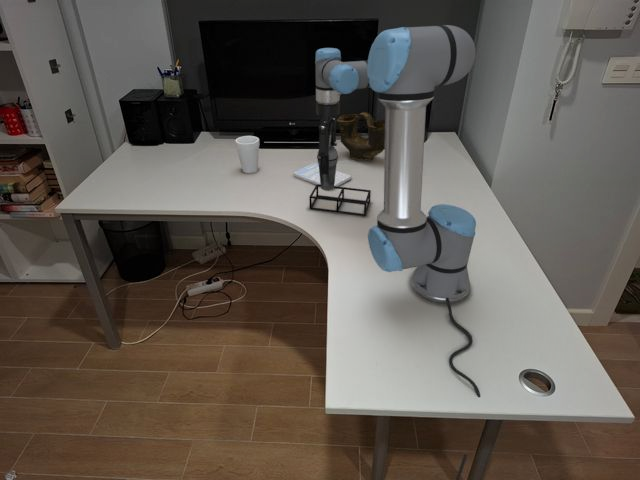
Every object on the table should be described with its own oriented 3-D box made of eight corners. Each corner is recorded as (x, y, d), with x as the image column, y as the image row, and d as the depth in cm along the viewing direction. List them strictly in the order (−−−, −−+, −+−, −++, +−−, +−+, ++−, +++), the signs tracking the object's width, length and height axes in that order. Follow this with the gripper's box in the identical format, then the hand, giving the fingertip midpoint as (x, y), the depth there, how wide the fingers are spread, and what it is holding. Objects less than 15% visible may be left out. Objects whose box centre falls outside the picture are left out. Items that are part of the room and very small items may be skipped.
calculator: (330, 190, 169) (330, 186, 168) (292, 176, 180) (292, 171, 178) (351, 179, 177) (352, 175, 176) (314, 165, 188) (314, 161, 187)
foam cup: (263, 172, 182) (261, 142, 175) (241, 176, 180) (238, 145, 172) (257, 163, 190) (255, 134, 183) (236, 167, 187) (233, 137, 180)
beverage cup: (313, 185, 157) (313, 130, 146) (332, 181, 160) (332, 127, 149) (322, 193, 152) (322, 137, 141) (341, 189, 154) (342, 134, 143)
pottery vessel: (392, 160, 193) (397, 115, 182) (380, 168, 185) (384, 122, 174) (345, 147, 205) (346, 104, 194) (331, 155, 198) (332, 110, 187)
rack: (365, 216, 153) (366, 203, 150) (309, 209, 157) (309, 196, 154) (370, 202, 161) (370, 190, 158) (316, 196, 165) (316, 184, 162)
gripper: (332, 111, 130) (331, 182, 143) (345, 94, 147) (344, 158, 159) (307, 110, 132) (309, 180, 145) (324, 92, 148) (324, 156, 161)
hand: (327, 168), depth 152 cm, fingers closed on beverage cup, 7 cm apart
